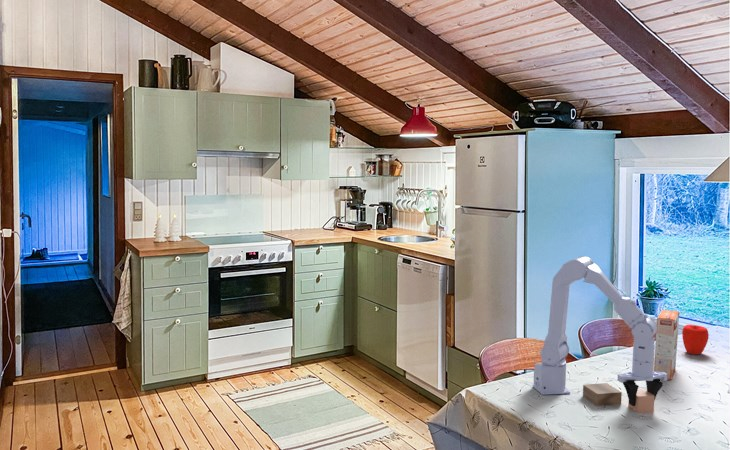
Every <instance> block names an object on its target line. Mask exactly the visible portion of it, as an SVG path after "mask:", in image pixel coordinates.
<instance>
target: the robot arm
mask: <svg viewBox="0 0 730 450" xmlns="http://www.w3.org/2000/svg"><path fill="white" fill-rule="evenodd" d="M582 279H583V281H582V282H583V283H587V284H592V285H594V286H595V287H597V288H598V289H599V291H600V292H601V293H603V294H604V295H605V296H606V297H607V298H608V300H610V302H611V303H613V308H614V309H613V310H614V312H615V313H616V314H617V315H618V316H619V317H620V318H621V320H622V321H623V322H624V323H625V324H626V325H627V326H628V327H629V328H630V329H631V334H632V336H633V342H632V343H633V345H632V366H631V371H628V372H623V373H617V381H618V382H619V383H622V385H623V386H624V389H625V391H626V394H627V398H628V399H627V400H628V402H629V404H630V405H632V406H635V404H636V394H637V390H639V386H640V385H638V384H636V383H637V382H641V381H644V382H645V384H646V391H648V392H649V393H651V394H653V395H654V401H655V400H656V397H657V395H658V393H659V391H660V390H661V389H662V387H663V386H664V382H663V381H668V380H667V374H666V373H664V372H654V358H655V343H656V336H655V335H656V331H657V322H656V321H655V319H653V318H651V317H650V316H649V315H648V314H647V313H644V312H643V311H642V309H640V307H638V305H637V303H638V302H637V301H636V300H635V299H632V298H630V297H626V296H623V295H622V294H621V293H620V291H619V290H618V289H617V288H616V287H615V286H614V284H613V283H612V282H611V280H610V279H609V278H608V277H607V275H606V274H605V273H604V272H603V271H602V270H601V268H600V266H599V265H597V264H596V263H594V261H593V260H592V258H590V257H588V256H585V255H580V256H578V257H576V258H574V259H571V260H568V261H567V262H565V263H563V264H562V265H561V268H559V270H558V271H557V273H556V274H555V275H554V276H553V278H552V285H551V295H550V307H549V319H548V332H547V333H546V334H547V335H546V336H545V339H544V341H543V342H544V343H543V347H542V348H541V350H540V351H539V354H540V358H541V360H542V361H541V362H539V363H535V364H534V368H533V384H532V388H534V389H535V390H536V391H538V392H539V394H541V395H543V396H544V395H563V394H565V395H566V394H571V393H572V392H571V391H570V389H568V388H566V383H567V382H566V380H567V375H566V374H567V360H566V357H567V356H568V354H569V352H570V347H569V345H568V336H567V334H566V329H567V318H568V307H569V306H568V304H569V296H570V286H571V285H572V284H573V283H575V282H576V281H580V280H582Z"/></svg>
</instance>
